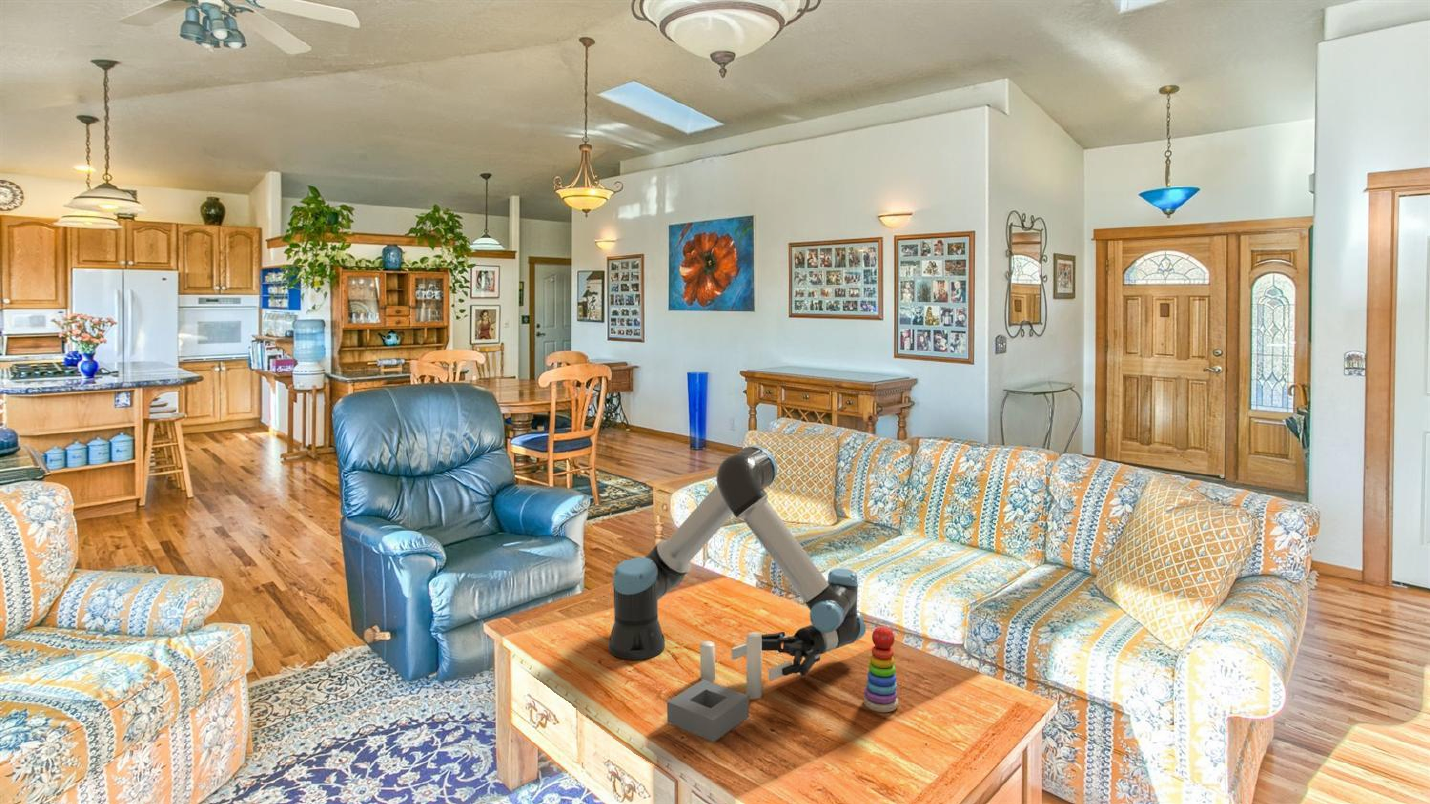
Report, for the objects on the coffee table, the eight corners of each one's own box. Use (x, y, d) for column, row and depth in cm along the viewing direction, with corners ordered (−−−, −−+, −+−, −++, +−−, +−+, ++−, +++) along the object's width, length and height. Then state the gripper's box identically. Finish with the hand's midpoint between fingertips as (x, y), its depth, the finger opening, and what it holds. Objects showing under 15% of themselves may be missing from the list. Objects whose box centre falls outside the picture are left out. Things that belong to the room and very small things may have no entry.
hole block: (667, 722, 175) (667, 701, 174) (703, 699, 185) (703, 679, 185) (713, 742, 167) (713, 720, 167) (748, 716, 177) (748, 695, 177)
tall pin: (743, 696, 186) (743, 636, 184) (752, 690, 189) (752, 631, 187) (755, 701, 184) (755, 640, 182) (764, 694, 187) (764, 634, 185)
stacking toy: (899, 715, 177) (901, 636, 175) (863, 712, 179) (864, 634, 176) (898, 698, 185) (899, 622, 183) (863, 695, 187) (864, 619, 184)
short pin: (697, 679, 195) (697, 644, 194) (706, 673, 198) (706, 639, 197) (709, 683, 193) (708, 648, 192) (717, 678, 196) (717, 643, 194)
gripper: (852, 672, 188) (786, 700, 175) (781, 637, 208) (718, 660, 195) (852, 642, 187) (787, 668, 174) (781, 610, 207) (718, 631, 194)
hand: (750, 664), depth 185 cm, fingers open, 13 cm apart
